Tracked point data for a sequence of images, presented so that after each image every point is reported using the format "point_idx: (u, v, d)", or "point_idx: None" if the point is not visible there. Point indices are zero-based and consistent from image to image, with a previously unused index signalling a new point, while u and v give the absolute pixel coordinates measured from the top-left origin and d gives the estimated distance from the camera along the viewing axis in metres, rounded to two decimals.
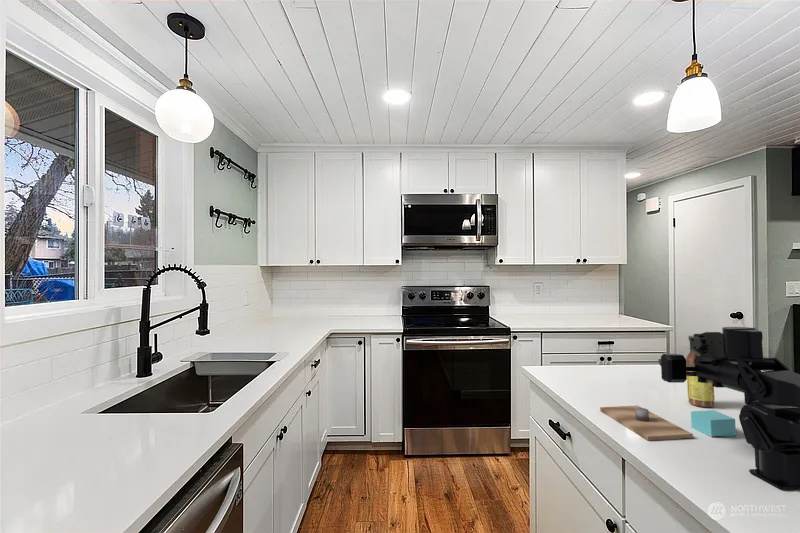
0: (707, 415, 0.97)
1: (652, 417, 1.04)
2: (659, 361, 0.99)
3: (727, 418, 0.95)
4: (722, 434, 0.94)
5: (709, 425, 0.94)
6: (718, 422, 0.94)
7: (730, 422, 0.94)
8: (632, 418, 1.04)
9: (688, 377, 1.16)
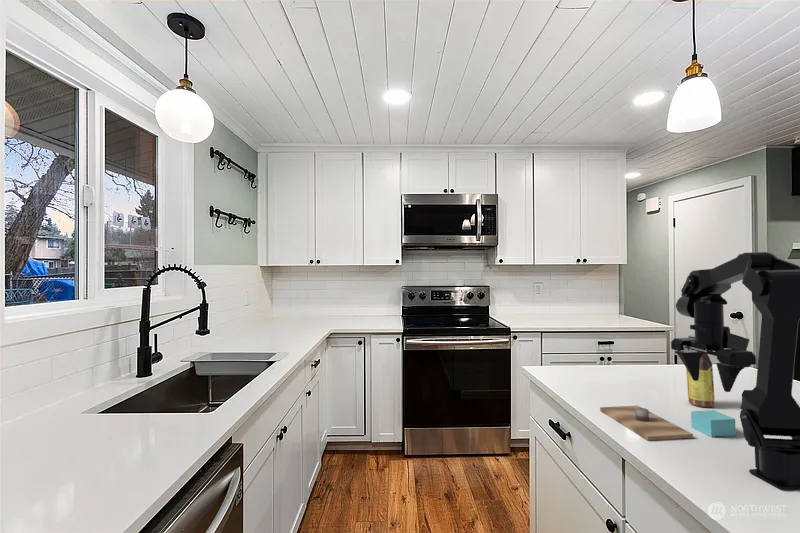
0: (707, 415, 0.97)
1: (652, 417, 1.04)
2: None
3: (727, 418, 0.95)
4: (722, 434, 0.94)
5: (709, 425, 0.94)
6: (718, 422, 0.94)
7: (730, 422, 0.94)
8: (632, 418, 1.04)
9: (688, 377, 1.16)
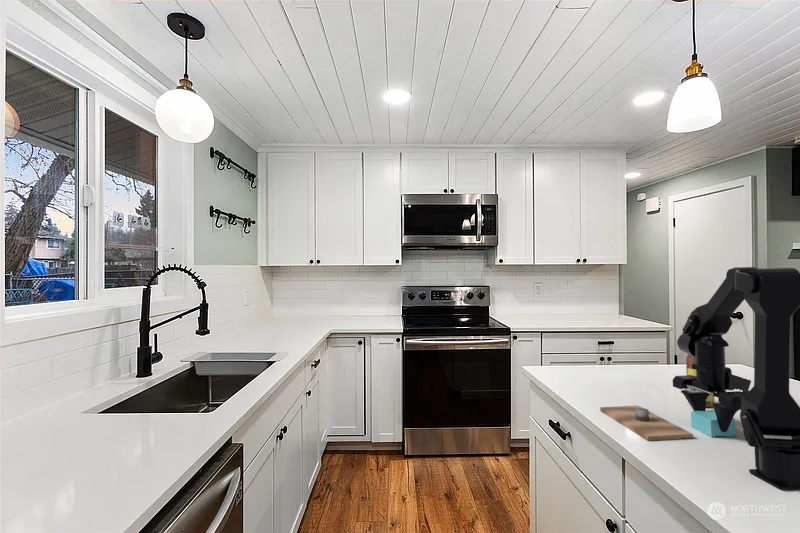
0: (707, 415, 0.97)
1: (652, 417, 1.04)
2: None
3: None
4: (722, 434, 0.94)
5: (709, 425, 0.94)
6: None
7: None
8: (632, 418, 1.04)
9: None
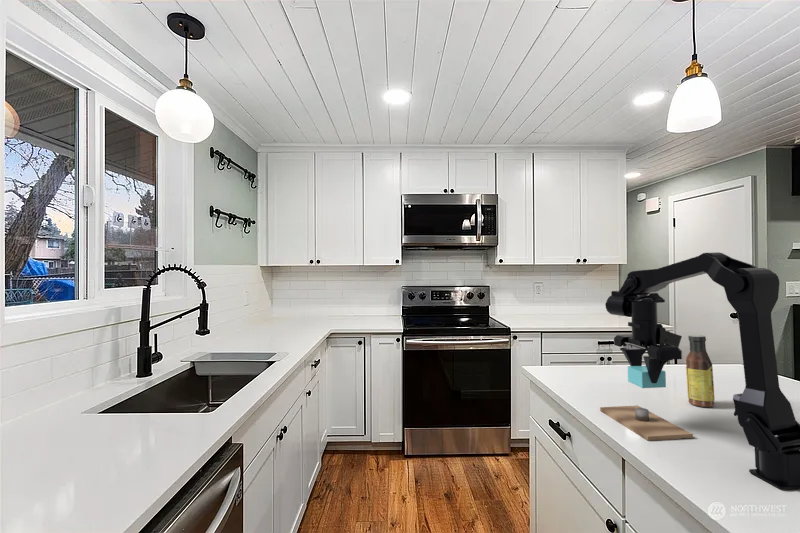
0: (641, 369, 1.03)
1: (652, 417, 1.04)
2: None
3: None
4: (653, 385, 1.00)
5: (640, 377, 1.01)
6: None
7: (660, 374, 1.00)
8: (632, 418, 1.04)
9: (688, 377, 1.16)
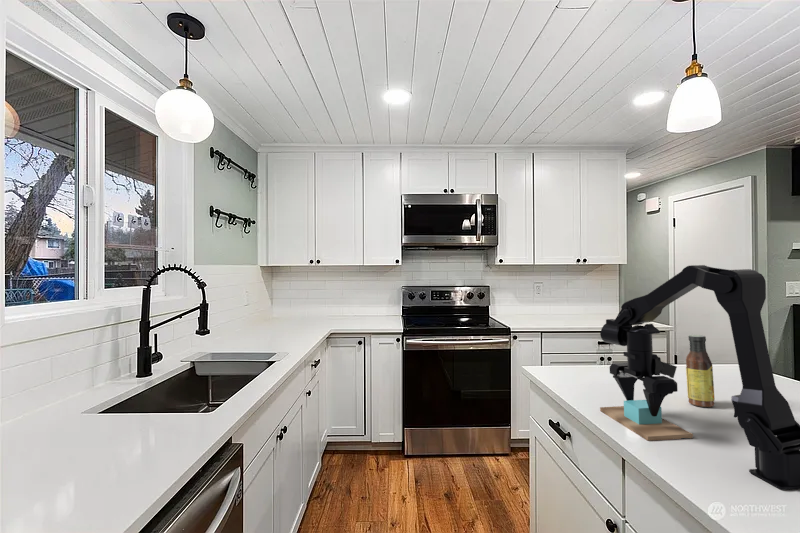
0: (637, 404, 1.03)
1: None
2: None
3: None
4: (649, 421, 1.00)
5: (637, 413, 1.01)
6: (646, 411, 1.00)
7: None
8: None
9: (688, 377, 1.16)
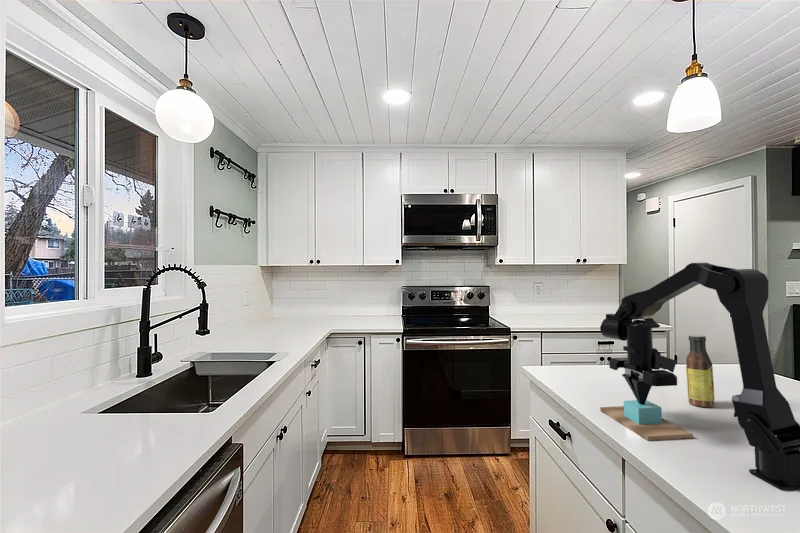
0: (637, 404, 1.03)
1: None
2: None
3: (654, 406, 1.01)
4: (649, 421, 1.00)
5: (637, 413, 1.01)
6: (646, 411, 1.00)
7: (657, 410, 1.00)
8: None
9: (688, 377, 1.16)
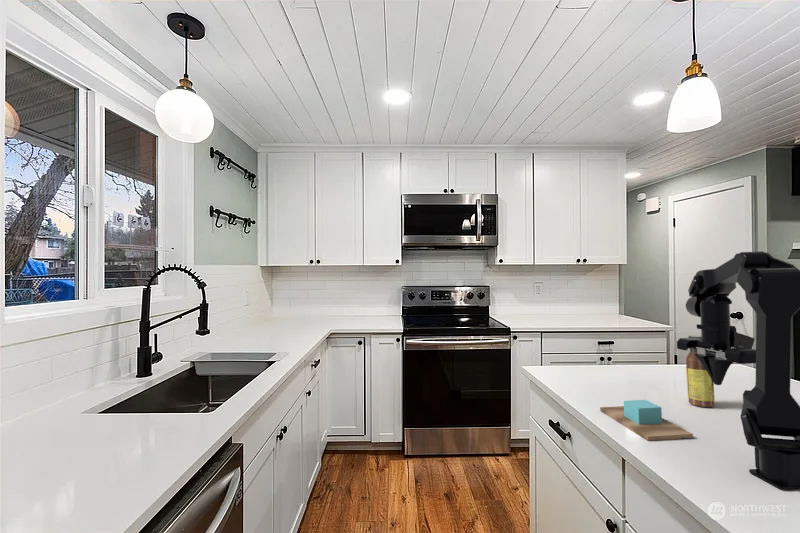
0: (637, 404, 1.03)
1: None
2: None
3: (654, 406, 1.01)
4: (649, 421, 1.00)
5: (637, 413, 1.01)
6: (646, 411, 1.00)
7: (657, 410, 1.00)
8: None
9: (688, 377, 1.16)
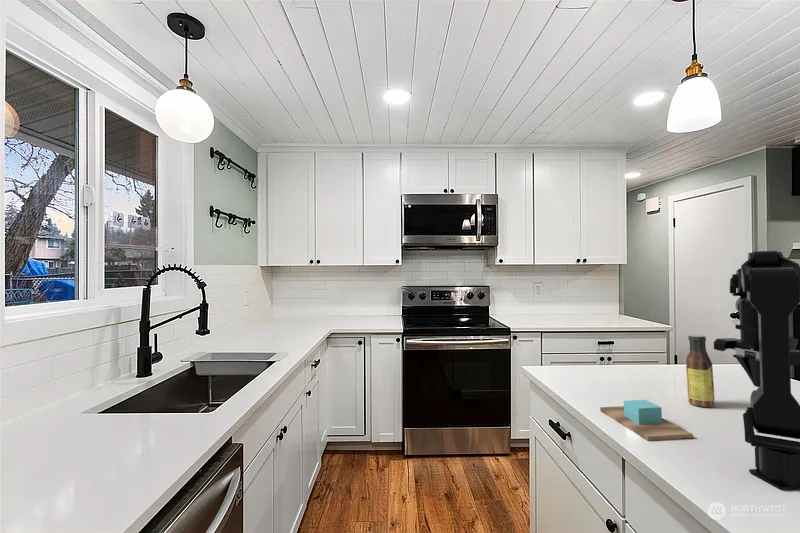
0: (637, 404, 1.03)
1: None
2: None
3: (654, 406, 1.01)
4: (649, 421, 1.00)
5: (637, 413, 1.01)
6: (646, 411, 1.00)
7: (657, 410, 1.00)
8: None
9: (688, 377, 1.16)
